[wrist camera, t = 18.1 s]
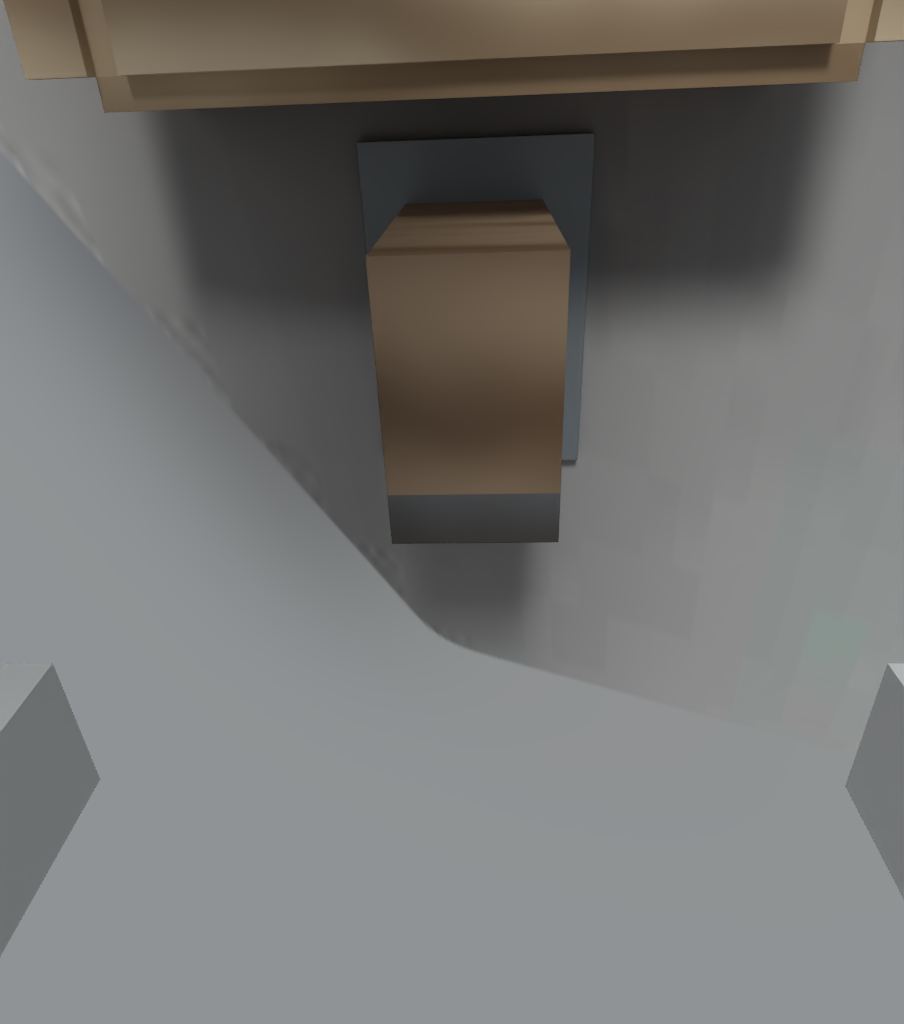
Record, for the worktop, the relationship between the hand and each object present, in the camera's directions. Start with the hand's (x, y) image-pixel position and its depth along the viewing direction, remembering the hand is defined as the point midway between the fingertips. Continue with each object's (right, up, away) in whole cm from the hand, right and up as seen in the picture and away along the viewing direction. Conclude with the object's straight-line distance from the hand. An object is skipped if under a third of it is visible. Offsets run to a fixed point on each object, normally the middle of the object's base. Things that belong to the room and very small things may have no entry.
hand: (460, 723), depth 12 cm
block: (+1, +13, +22) cm, 26 cm away
